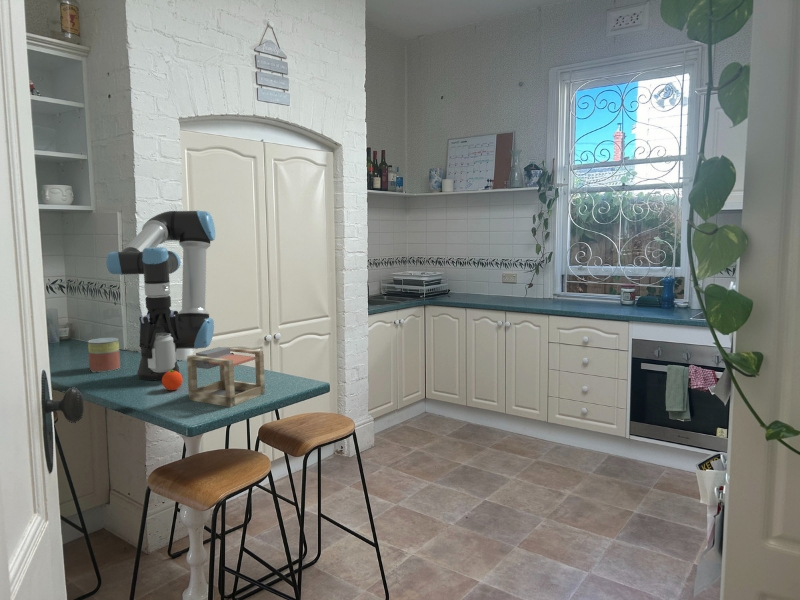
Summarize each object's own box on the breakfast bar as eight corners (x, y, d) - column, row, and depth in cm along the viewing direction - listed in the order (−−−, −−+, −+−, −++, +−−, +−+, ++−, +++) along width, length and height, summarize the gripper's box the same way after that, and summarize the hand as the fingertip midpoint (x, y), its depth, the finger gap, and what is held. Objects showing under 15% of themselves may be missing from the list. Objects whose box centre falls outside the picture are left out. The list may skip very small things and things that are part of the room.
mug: (177, 362, 252) (176, 340, 251) (166, 359, 258) (165, 338, 257) (202, 357, 261) (201, 336, 260) (192, 354, 267) (191, 334, 266)
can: (174, 372, 191) (171, 335, 189) (149, 373, 188) (146, 337, 187) (175, 366, 198) (173, 331, 196) (151, 367, 196) (149, 332, 194)
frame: (189, 399, 197) (186, 355, 195) (224, 387, 212) (223, 346, 210) (230, 407, 189) (228, 361, 187) (264, 393, 204) (263, 351, 203)
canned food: (126, 367, 242) (124, 338, 241) (101, 373, 232) (99, 343, 231) (108, 364, 248) (106, 336, 246) (83, 370, 238) (81, 341, 236)
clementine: (159, 388, 211) (158, 369, 210) (179, 385, 215) (178, 366, 214) (165, 393, 205) (164, 373, 204) (185, 390, 209) (184, 370, 208)
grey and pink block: (194, 368, 197) (193, 353, 196) (221, 360, 209) (221, 346, 208) (231, 373, 190) (230, 358, 189) (257, 364, 202) (257, 350, 201)
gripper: (140, 300, 179) (145, 374, 182) (190, 292, 197) (194, 359, 200) (122, 299, 182) (128, 371, 185) (173, 291, 200) (177, 356, 203)
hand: (162, 364), depth 193 cm, fingers closed on can, 7 cm apart
